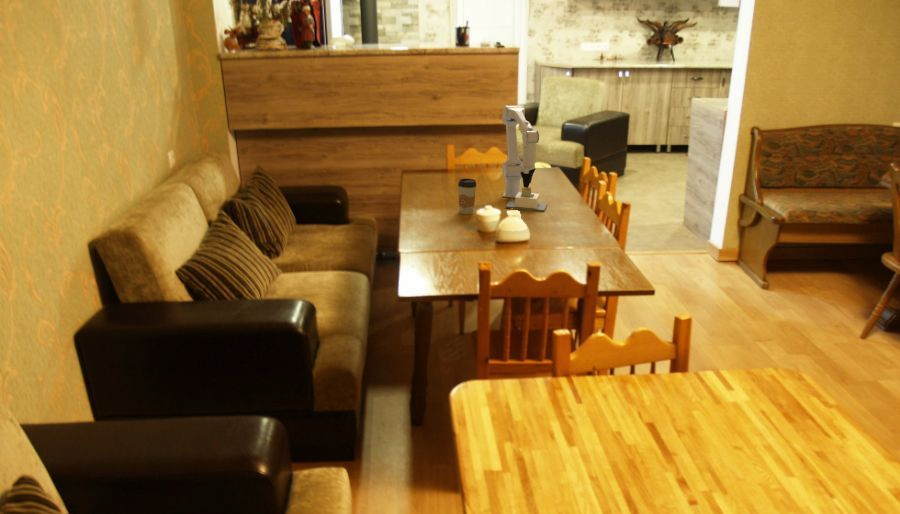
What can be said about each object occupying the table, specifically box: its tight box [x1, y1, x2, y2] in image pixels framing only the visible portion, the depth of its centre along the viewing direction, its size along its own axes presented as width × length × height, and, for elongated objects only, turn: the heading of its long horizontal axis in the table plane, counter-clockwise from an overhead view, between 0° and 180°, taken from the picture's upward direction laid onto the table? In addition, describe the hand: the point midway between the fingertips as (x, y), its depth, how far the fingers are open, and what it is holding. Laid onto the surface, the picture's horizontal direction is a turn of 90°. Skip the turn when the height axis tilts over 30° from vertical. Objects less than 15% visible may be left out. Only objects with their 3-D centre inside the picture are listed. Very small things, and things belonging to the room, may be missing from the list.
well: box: [505, 191, 548, 213], centre depth 326 cm, size 12×18×6 cm, turn 76°
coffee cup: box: [457, 178, 477, 215], centre depth 312 cm, size 8×8×15 cm
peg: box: [521, 186, 532, 198], centre depth 325 cm, size 4×4×8 cm
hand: (527, 185), depth 323 cm, fingers open, 7 cm apart
